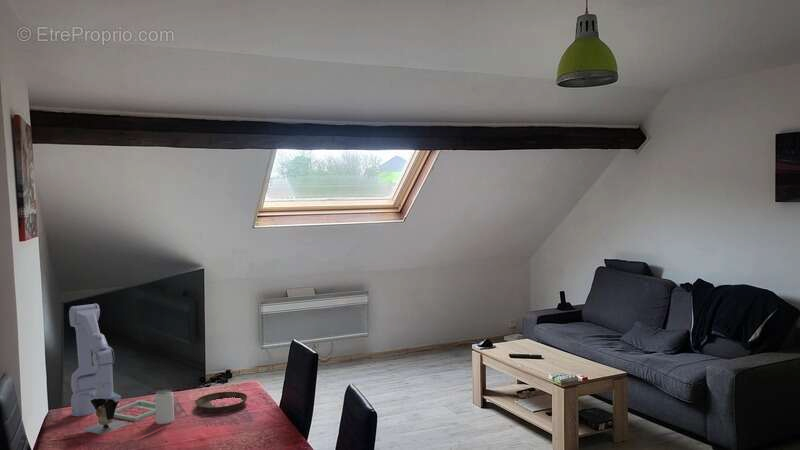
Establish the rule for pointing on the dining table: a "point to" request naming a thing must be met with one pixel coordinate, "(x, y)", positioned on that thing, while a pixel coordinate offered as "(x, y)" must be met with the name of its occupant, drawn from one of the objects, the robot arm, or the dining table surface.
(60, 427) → the dining table surface
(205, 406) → the plant saucer
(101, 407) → the sleeve
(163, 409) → the can
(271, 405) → the dining table surface
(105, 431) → the square base plate
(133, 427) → the dining table surface
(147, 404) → the tray
